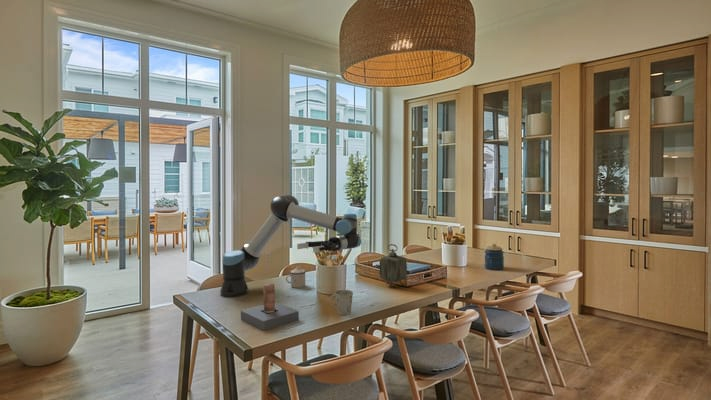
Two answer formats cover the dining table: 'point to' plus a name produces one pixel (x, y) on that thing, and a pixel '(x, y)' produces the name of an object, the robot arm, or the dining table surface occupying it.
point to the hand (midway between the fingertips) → (305, 248)
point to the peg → (269, 298)
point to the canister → (494, 258)
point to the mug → (343, 301)
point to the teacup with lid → (297, 278)
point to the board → (269, 316)
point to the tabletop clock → (393, 267)
